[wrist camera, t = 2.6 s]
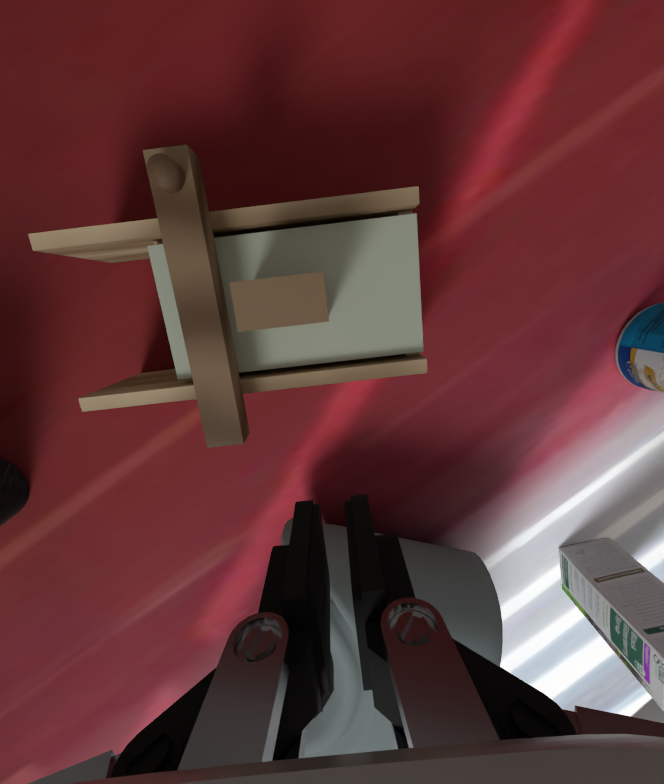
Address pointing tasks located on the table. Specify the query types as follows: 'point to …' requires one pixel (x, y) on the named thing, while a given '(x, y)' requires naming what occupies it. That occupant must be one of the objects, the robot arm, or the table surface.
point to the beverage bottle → (643, 349)
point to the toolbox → (136, 235)
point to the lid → (312, 294)
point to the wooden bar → (198, 291)
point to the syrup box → (619, 606)
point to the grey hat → (347, 698)
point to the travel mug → (11, 491)
